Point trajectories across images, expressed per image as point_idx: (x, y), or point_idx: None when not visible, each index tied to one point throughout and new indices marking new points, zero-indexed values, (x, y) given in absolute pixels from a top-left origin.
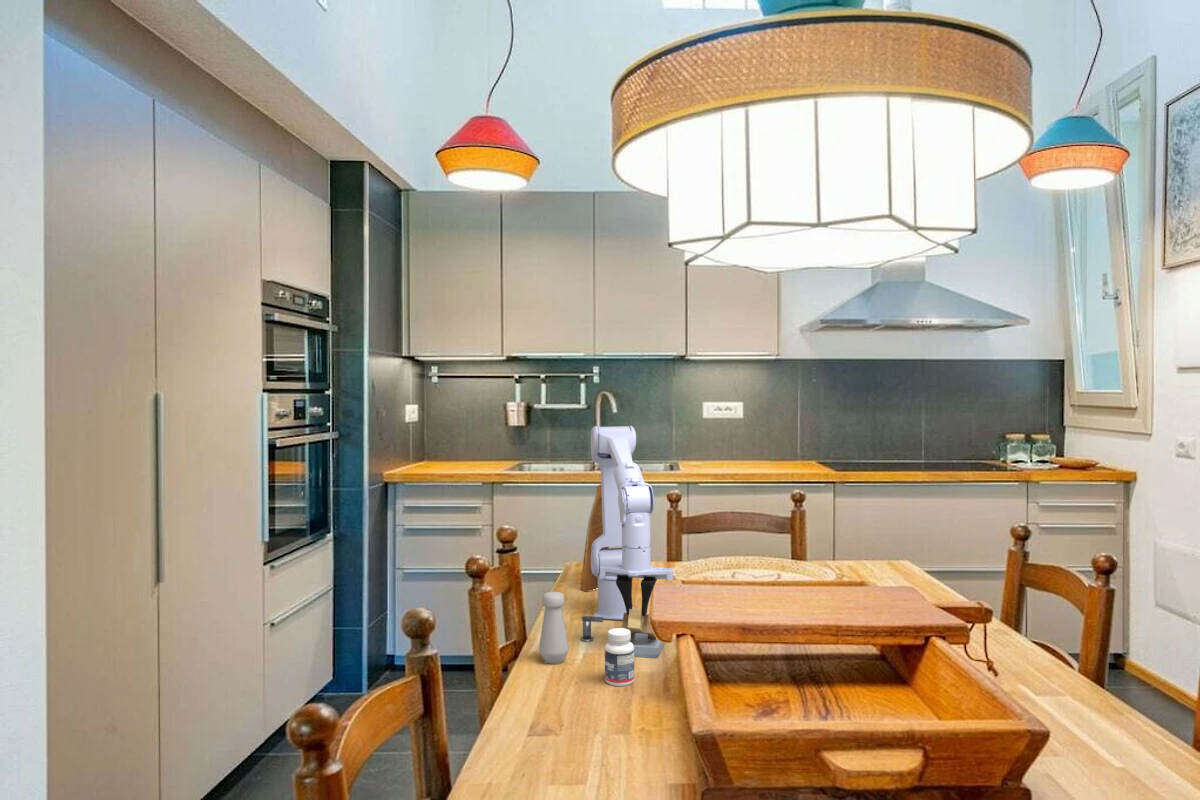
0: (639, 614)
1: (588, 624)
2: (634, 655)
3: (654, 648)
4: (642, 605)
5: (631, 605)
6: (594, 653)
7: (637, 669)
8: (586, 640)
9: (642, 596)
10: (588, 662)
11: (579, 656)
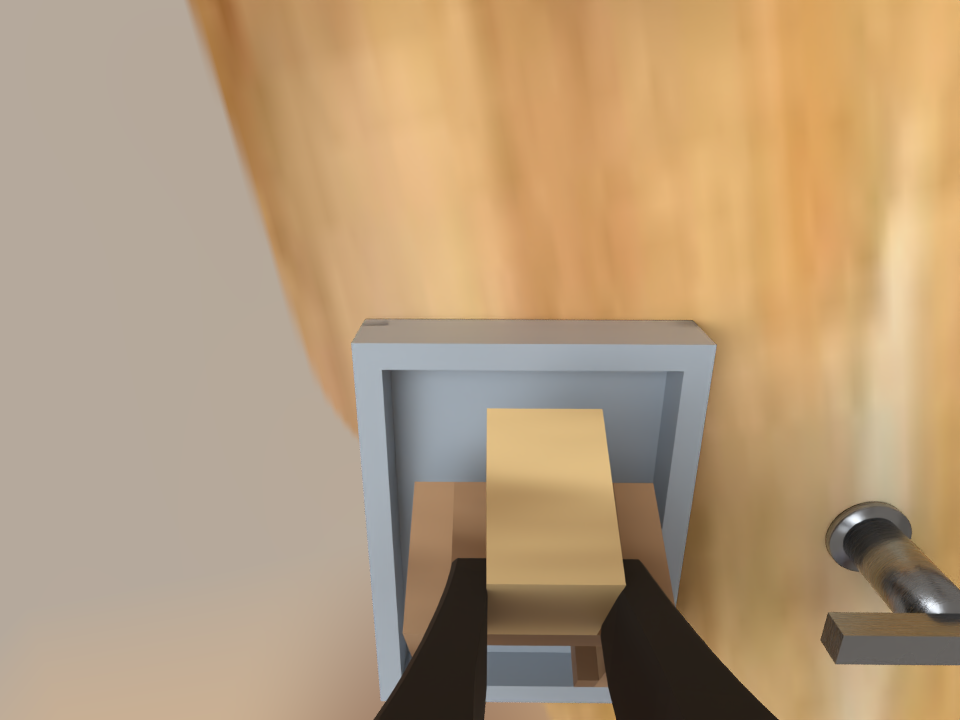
0: (501, 530)
1: (921, 591)
2: (523, 321)
3: (375, 340)
4: (472, 627)
5: (617, 681)
6: (801, 320)
7: (455, 77)
8: (871, 507)
9: (462, 717)
10: (834, 138)
11: (906, 243)
